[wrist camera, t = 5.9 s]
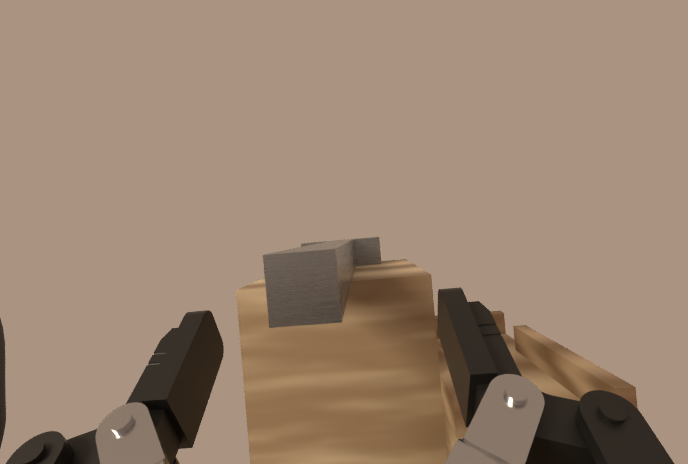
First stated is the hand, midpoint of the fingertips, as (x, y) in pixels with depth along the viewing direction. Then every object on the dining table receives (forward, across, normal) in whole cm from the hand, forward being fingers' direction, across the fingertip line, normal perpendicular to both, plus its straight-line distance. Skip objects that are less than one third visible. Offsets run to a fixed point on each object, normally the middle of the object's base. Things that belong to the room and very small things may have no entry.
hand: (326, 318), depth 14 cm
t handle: (+9, -1, -6) cm, 11 cm away
